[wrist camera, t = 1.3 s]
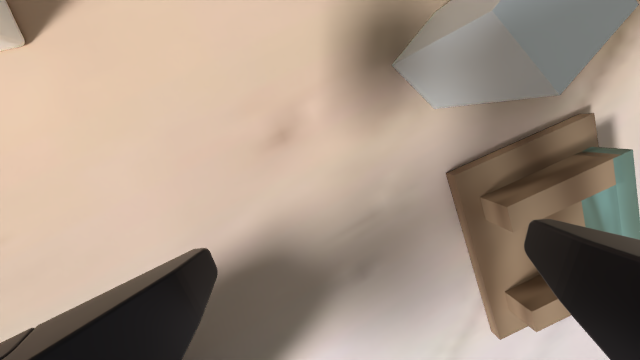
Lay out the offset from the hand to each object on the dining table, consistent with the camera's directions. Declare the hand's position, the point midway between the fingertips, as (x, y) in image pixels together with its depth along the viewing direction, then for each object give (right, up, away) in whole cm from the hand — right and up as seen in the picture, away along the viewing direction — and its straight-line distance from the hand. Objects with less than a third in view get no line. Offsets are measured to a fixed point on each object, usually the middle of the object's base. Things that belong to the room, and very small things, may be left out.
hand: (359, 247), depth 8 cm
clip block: (+7, +10, +11) cm, 17 cm away
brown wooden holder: (+17, -2, +15) cm, 23 cm away
